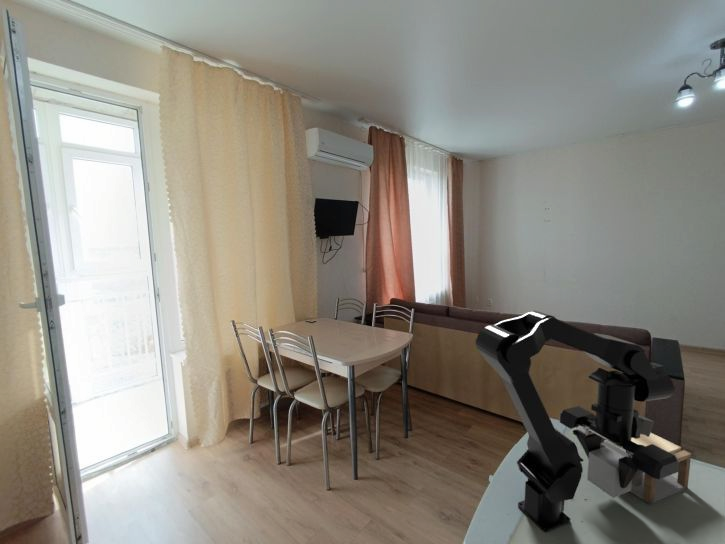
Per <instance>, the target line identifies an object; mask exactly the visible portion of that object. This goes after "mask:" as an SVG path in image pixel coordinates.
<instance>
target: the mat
mask: <svg viewBox="0 0 725 544" xmlns="http://www.w3.org/2000/svg"><path fill="white" fill-rule="evenodd" d="M644 479H645V473H644V472H643V476H642V485H639V486H637V487H634V486H632V485H631V491H629V492H630V493H632V494H634V495H635V496H636V497H638V498H639V499H641V500H642V501H644V502H646V501H647V502H649V501H648V500H646V499H645V498H643V490H644ZM677 479H678V478H675V477H674V476H672V475H669V476H667V477H664V478H662V479H656V482H655V493H654V500H652V501H654V502H653V503H656V502H659V501H660V500H663V499H666V498H667V497H669V496H671V495H674V494H676V493H680V492H681V491H683V490H686V489H685V487H684V486H682V485H680V484H679V483H677ZM643 499H644V500H643ZM647 502H646V503H647ZM650 502H651V501H650ZM650 502H649V503H648V504H649V505H651V504H650ZM653 503H652V504H653Z"/></svg>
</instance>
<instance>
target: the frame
mask: <svg viewBox="0 0 725 544" xmlns="http://www.w3.org/2000/svg"><path fill="white" fill-rule="evenodd" d="M605 441H607V440H606V439H604V438H603V439H602V441H601V443H603V442H605ZM625 452H626V453H627V451H626V450H625ZM673 455H675V456H676V457H677V459H678V461H679V463H680V464H679V472H677V478H676V479H677V483H679V484H680V485H682V486H684V487H685V489H684V490H686V489H688V487H689V478H690V470H691V469H690V468H691V461H692V460H691V459H692V453H691V452H689V451H687V450H685V449H683V450H681V451H679V452H677V453H674V454H673ZM655 482H656V478H653V477H651V476H649V475H648V474H646V473H645V479H644V490H643V498H645V499H646V500H648V501H649V502H650V501H651V502H650V504H649V502H647V501H645V503H646V504H649V505H652V504H653V502H654V501H652V500H654V493H655ZM642 501H644V499H643V500H642ZM654 503H655V502H654Z"/></svg>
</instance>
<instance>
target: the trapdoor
mask: <svg viewBox="0 0 725 544" xmlns="http://www.w3.org/2000/svg"><path fill="white" fill-rule="evenodd" d="M631 441H632V442H634V443H636V444H639V445H644V446H648V445H651V444H654V445H655V446H657V447H659V448H661V449H663V450H665V451H667V452H669V453H671V454H675V453H677V452H680V451H682V446H680V445H677V444H675V443H673V442H672V441H669V440H667V439H665V438H663V437H660V436H659V435H656V434H654V433H652V432H651V433H650V436H649V437H647V436H646V435H643V434H640V438H637V439H635V438H631ZM606 446H607V447H608V448H610V449H612V450H614V451H615V452H617V453H619V454H621V455H622V456H624V457H626V456H627V453H626V451H625V450H624V449H622V448H620V447H618V446H616V445H615V444H613V443H611V442H609V441H608V440H605V441H604V442H603V443H601V447H600V448H603V447H606ZM642 476H643V471H641V470H640V471H638V472H637V473H636V474H635V476H634V477H633V479H632V484H631V485H632V486H634V487H637V486H639V485H642Z"/></svg>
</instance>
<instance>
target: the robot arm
mask: <svg viewBox="0 0 725 544" xmlns="http://www.w3.org/2000/svg"><path fill="white" fill-rule="evenodd" d="M550 340H553V341H556V342H559V343H561V344H563V345H566V346H569V347H572V348H575V349H577V350H580V351H582V352H583V353H585V354H586V355H587V356H588V357H589V358H591V359H592V360H594V361H595V362H596V363H599V364H602V365H604V366H606V367H609V368H611V369H614V370H611V369H610V370H605V369H603V368H601V367H598V368H597V369H596V370H595V371H593V372H591V373H590V374H588V379H589V380H591V381H594V382H596V383H597V387H596V388H597V389H596V403H592V404H591V406H590V407H591V408H590V410H591V411H593V412H595V413H593V412H590V411H589V410H587V409H585V408H583V407H582V406H581V407H580V406H579V405H578V406H573V407H569V408H565V409H562V410H561V412H560V413H559V423H560V424H561V425H563V426H565V427H567V428H569V429H570V430H571V429H574V428H575V429H574V430H572V434H573V435H574V436H575V437H576V438H577V440H578V442H579V443H580V446H581V448H582V449H583V451H584V453H585V455H586V457H587V459H588V460H589V452H591V451H594V450H597V449H600V447H601V441H602V439H603V438H604V439H606V440H605V441H607V442H609V443H610V444H612V445H614V446H616V447H617V448H619V449H622V450H624V451H625V452H626V451H627V456H626V457H623V458H620V459H619V481H620V486H621V488H623V489H624V488H626V487H627V486H628V484H629V483H630V482H631V480H632V479H633V477H634V476H635V474H636V473H637V472H638V471H640V470H641V471H643V472H644V473H646V474H648V475H649V476H651V477H653V478H656V479H662V478H664V477H667V476H669V475H671V476H672V475H674V474H678V472H679V464H680V463H679V461H678V459H677V457H676V456H675V455H673V454H671V453H669V452H667V451H665V450H663V449H661V448H659V447H657V446H655V445H654V444H651V445H648V446H644V445H639V444H636V443H634V442H632V441H631V438H635V439H637V438H640V434H643V435H646V436H647V437H649V436H650V433H652V429H653V425H654V423H655V421H653V420H652V419H649V418H647V417H645V416H643V415H641V414H640V413H639V410H638V409H637V410H636V409H635V401H637V402H641V403H642V402H649V401H656V400H663V399H668V398H671V397H672V396H673V395H674V393H675V390H676V389H675V388H676V387H675V385H674V382H673V380H672V378H671V377H670V376H669V375H668V374H667V373H666V372H665V366H664V365H662V364H659V363H657V362H650V361H649V359H648V357H647V355H646V354H645V352H646V350H645V348H644V347H643V346H641V345H640V344H636V343H634V342H630V341H628V340H624V339H622V338H618V337H616V336H612V335H608V334H602V333H598V332H597V333H596V332H595V333H592V332H590V331H587V330H585V329H582V328H580V327H577V326H576V325H575V326H574V325H573V324H570V323H568V322H565V321H562V320H561V319H558V318H556V317H555V316H554V315H551V314H548V313H545V312H542V311H538V310H533V311H531V310H530V311H529V312H526V313H524V314H523V315H519V316H517V317H513V318H508V319H504V320H501V321H499V322H498V323H494V324H491V325H487V326H484V327H483V328H482V329H481V330H480V331H479V332H478V334H477V337H476V339H475V346H476V348H477V350H478V352H479V353H480V355H481V356H482V357H483V359H484V360H485V361H486V363H488V365H490V366H491V368H493V370H494V372H496V373H497V375H499V376H500V378H501V381H502V382H503V384H504V387H505V388H506V391H507V393H508V395H509V397H510V399H511V401H512V403H513V405H514V407H515V410H516V411H517V413H518V417H520V420H521V421H522V424H523V426H524V427H525V431H526V433H528V439H527V441H526V445H527V450H526V451H525V452H524V453H523V454H522V456H521V457H520V458H519V459H518V460H517V462H516V464H517V467H518V470H519V471H520V472H521V473H522V474H523V476H525V477H526V478H527V480H526V481H525V482H524V484H525V485H524V500H521V501H519V502H517V507H518V508H519V509H520V510H521V511H522V512H523V513H524V514H525V515H526V516H527V517H528V518H529V519H530V520H531V521H532V522H533V523H535V525H536V526H537V527H539V528H540V530H542V531H543V532H545V533H548V532H551V531H553V530H555V529H557V528H560V527H562V526H565V525H567V524H570V523H571V518H570V517H569V515H567V514H566V513H565V512H564V511H565V501H570V500H573V499H574V497H575V495H576V492H577V489H578V488H579V487H578V486H579V484H580V481H581V479H582V473H583V470H584V469H583V465H582V463H581V462H584V459H583V458H582V456H581V455H580V454H579V452H578V451H579V450H578V447H577V444H576V443H575V442H574V441H573V440H571V439H570V437H569V438H568V437H567V436H566V435H565V434H563V433H562V432H561V431H560V430H558V429H556V428H555V426H554V424H553V422H552V420H551V418H550V415H549V414H548V411H547V409H546V407H545V405H544V402H543V401H542V398H541V396H540V394H539V391H538V390H537V387H536V385H535V383H534V381H533V379H532V377H531V374H530V369H531V366H532V357H534V356H536V355H537V354H539V353H540V352H541V350H542V349H543V348H544V345H545V343H547V341H550Z"/></svg>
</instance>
